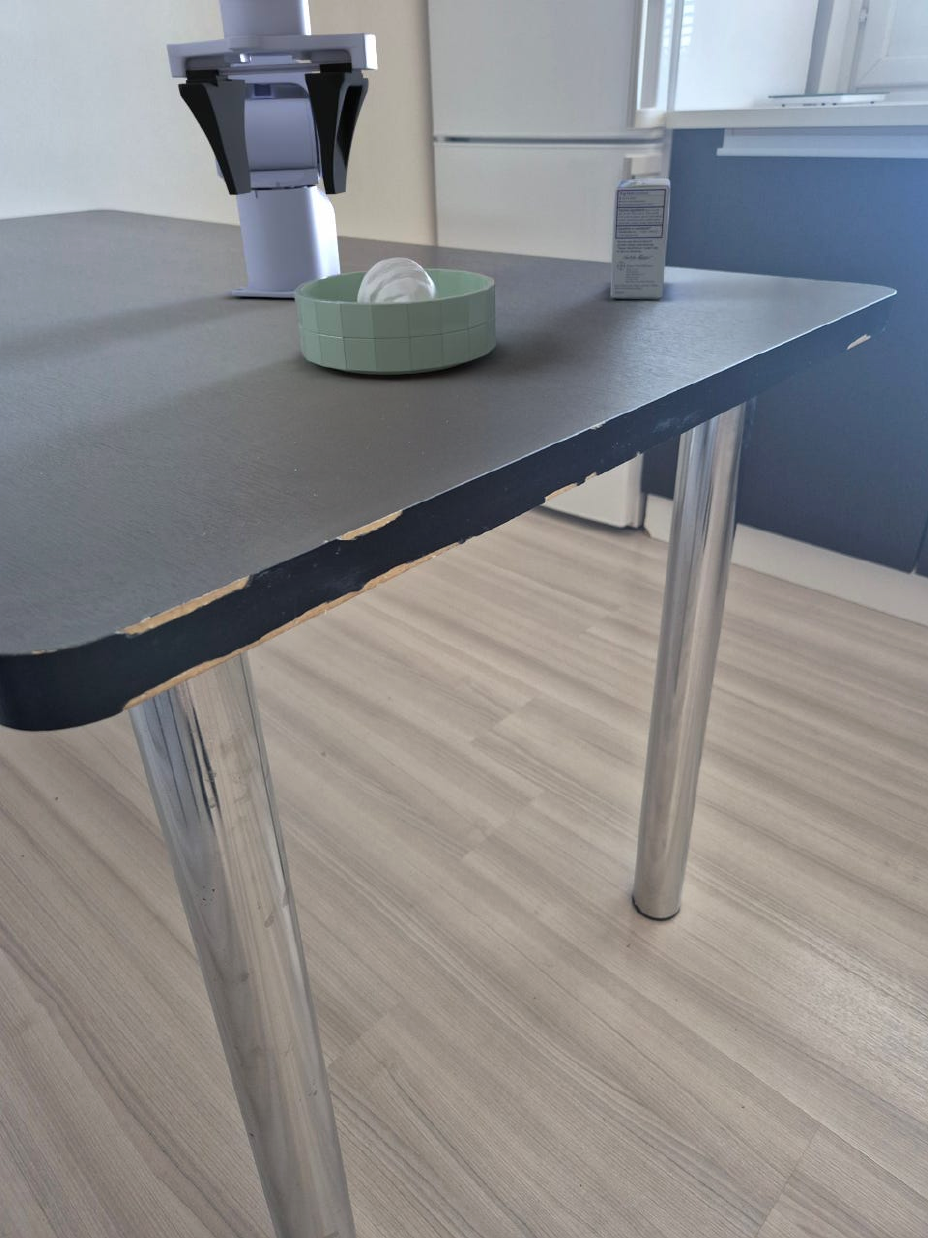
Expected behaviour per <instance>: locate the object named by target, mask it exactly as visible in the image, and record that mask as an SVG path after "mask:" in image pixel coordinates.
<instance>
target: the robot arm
mask: <svg viewBox="0 0 928 1238" xmlns="http://www.w3.org/2000/svg"><path fill="white" fill-rule="evenodd" d="M218 3H219V11H220V17H221V22H222V23H221V24H222V30H223V38H221V39H212V40H201V41H194V42H191V41H190V42H183V43H168V44H166V50H167V56H168V61H169V62H168V63H169V67H170V73H171V78H173V79H181V78H183V79H185V83H178V84H177V88H178V92H179V96H180V97H181V99H182V100H183V101H184V103H185V104H186V106H187V107H188V109H189V111H190V112H191V113H192V115H193V117H194V118H195V120H196V121H197V123H198V125H199V127H200V128H201V130H202V132H203V134H204V135H205V136H204V137H206V139H207V141H208V143H209V146H210V148H211V151H212V152H213V156H214V161H215V167H216V173H217V176H218V177H219V178H220V179H222V180H223V182H224V183H225V186H226V188H227V191H228V194H229V196H235V200H236V207H237V213H238V219H239V227H240V232H241V233H240V234H241V239H242V246H243V252H244V253H243V254H244V260H245V266H246V272H247V280H248V284H246V285H244V286H240V287H238V288H235V289H231V296H232V297H251V298H284V299H285V298H287V299H288V298H289V299H290V298H291V299H295V297H294V290H295V289H296V288H297V286H298V285H300V284H303V283H305V282H308V281H310V280H313V279H318V278H322V277H326V276H331V275H337V274H341V266H340V256H339V246H338V235H337V234H338V233H337V225H336V224H337V223H336V215H335V210H334V207H333V205H332V203H331V200H330V199H329V197H328V196H327V195H340V194H343V193H346V192H347V177H348V167H349V161H350V154H351V149H352V143H353V139H354V135H355V130H356V126H357V122H358V120H359V116H360V113H361V110H362V108H363V104H364V102H365V99H366V96H367V94H368V92H369V85H370V80H369V78H368V77H364V73H363V72H362V71H375V70H378V62H377V61H378V60H377V47H376V35H375V34H372V33H371V34H370V33H365V32H358V33H357V32H356V33H332V34H312V29H311V17H310V9H309V0H218ZM299 61H309V62H299ZM320 179H322V184H323V188H324V191H323V190H322V189H320V188H319V187H318V185H320Z"/></svg>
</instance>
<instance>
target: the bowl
mask: <svg viewBox="0 0 928 1238" xmlns="http://www.w3.org/2000/svg"><path fill="white" fill-rule="evenodd" d="M422 269H423V270H424V271H425V272H426V273H427V275H428V276H429V277H430V278H431V280H432V281H433V283H434V286H435V288H436V291H437V293H438V296H439V298H437V299H427V300H417V301H406V302H376V303H372V302H357V297H358V292H359V289H360V286H361V283H362V281H363V278H364V276H365V275H366V274H367V273H368V271H369V270H361V271H350V272H345V273H340V274H337V275H331V276H326V277H322V278H318V279H313V280H310V281H308V282H305V283H303V284H300V285H298V286H297V288H296V289H295V290H294V297H295V298H294V304H295V312H296V321H297V329H298V335H299V337H298V338H299V344H300V351H301V354H302V355H303V357H304V358H305V360H306V361H308V362H310V363H313V364H316V365H318V366H321V367H324V368H331V369H334V370H336V371H337V370H338V371H342V372H346V373H353V374H360V375H376V376H393V375H394V376H395V375H411V374H414V375H415V374H422V373H429V372H430V373H431V372H436V371H442V370H445V369H451V368H453V367H457V366H460V365H463V364H465V363H468V362H471V361H474V360H476V359H479V358H481V357H483V356H486V355H489V354H490V352H492V351H493V350H494V349H495V348H496V344H497V343H496V341H497V339H496V283H495V280H494V279H495V278H493V277H490V276H488V275H485V274H483V273H479V272H473V271H468V270H461V269H460V270H459V269H448V268H423V267H422Z"/></svg>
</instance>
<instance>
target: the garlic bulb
mask: <svg viewBox="0 0 928 1238" xmlns="http://www.w3.org/2000/svg"><path fill="white" fill-rule="evenodd" d="M422 268H423V267H422V266H421V265H420V264H418V263H417V262H416V261H414V260H412V259H411V258H410V259H409V258H406V257H391V258H386V259H382V260H380V261H378V262H376V263H375V264H374V265H373V266H372V267H371V268H369V270H367V271H368V273H367V274H366V275H365V276H364V278H363V281H362V283H361V286H360V289H359V292H358V297H357V302H372V303H376V302H406V301H417V300H427V299H437V298H439V296H438V293H437V291H436V288H435V286H434V283H433V281H432V280H431V278H430V277H429V276H428V275H427V273H426V272H425V271H424V270H423V269H422Z"/></svg>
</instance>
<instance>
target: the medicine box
mask: <svg viewBox="0 0 928 1238" xmlns="http://www.w3.org/2000/svg"><path fill="white" fill-rule="evenodd" d="M670 201H671V180H670V179H669V178H633V179H626V180H622V181H620V183H619V184H618V186H617V188H615V191H614V201H613V217H612V219H613V220H612V243H611V265H610V298H611V299H616V300H617V299H618V300H661V298H663V293H664V283H665V281H664V280H665V267H666V256H667V255H666V254H667V241H668V229H669V216H670V205H671V203H670Z"/></svg>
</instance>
